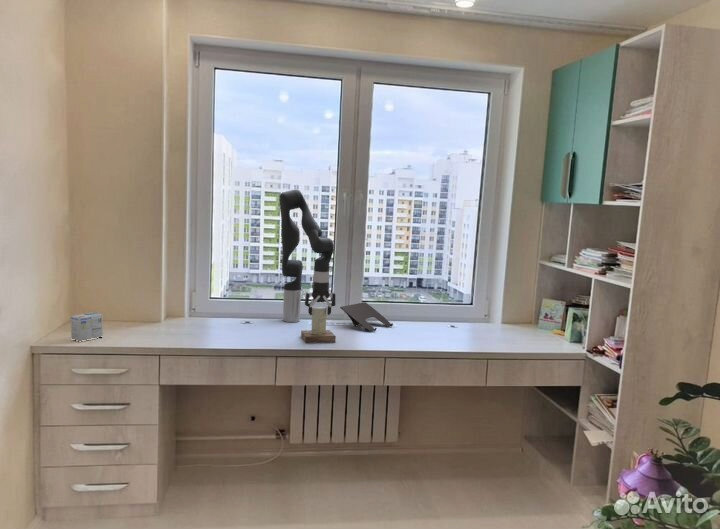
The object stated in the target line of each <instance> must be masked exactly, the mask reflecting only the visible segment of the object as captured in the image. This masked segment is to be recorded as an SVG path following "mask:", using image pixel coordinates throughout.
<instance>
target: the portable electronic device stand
mask: <svg viewBox="0 0 720 529" xmlns="http://www.w3.org/2000/svg"><path fill="white" fill-rule="evenodd" d="M339 309H341V310H342V311H343V312H344V313H345V314H346V315H347V317H349V318H350V320H351V322H352V324H353V326H354V327H357V326H356V325H358V326H359V324H360V325H361V326H362V327H363V328H364V331H367V332H369V331H370V332H372V331H373V332H372V333H375V332H376V331H377V327H375V328H374V327H373V325H371V323H369V321H367V319H371V318H375V319H376V320H378V321H379V322H380V323H382V324H383V325H385V326H387V327H388V328H389V327H391V328H392V327H393V325H394V323H392V322H390V321H389V320H388V319H386V317H384V315H382V314H381V313H379V312H378V311H377V310H376V309H375V308H374V307H372V305H370V304H369V303H368V302H365V301H363V302H358V303H353V304H348V305H343V306H340V307H339Z"/></svg>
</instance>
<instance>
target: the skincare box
mask: <svg viewBox="0 0 720 529" xmlns="http://www.w3.org/2000/svg"><path fill="white" fill-rule="evenodd" d="M327 308H328V307H324V306H323V307H322V306H317V307H312V315H311V330H312V334H317V335H320V334H323V333H326V330H327Z"/></svg>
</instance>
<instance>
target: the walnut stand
mask: <svg viewBox="0 0 720 529" xmlns="http://www.w3.org/2000/svg"><path fill="white" fill-rule="evenodd" d="M300 337H301V339H302V340H303V342H304V343H305V344H325V343H336V341H337V340H336V338H337V337H336V335H335V334H334V333H333V332H332V331H331V330H330V329H326V333H323V334H320V335H317V334H312V329H311V330H308V329H306V330H305V329H304V330H300Z"/></svg>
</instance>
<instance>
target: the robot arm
mask: <svg viewBox="0 0 720 529" xmlns="http://www.w3.org/2000/svg"><path fill="white" fill-rule="evenodd" d="M278 198H279V200H278V201H279V208H280V209H279V210H280V219H281V248H282V249H281V251H282V259H281V273H282V275H283V277H286V278H287V277H288V278H295V279H294V280H292V281H290V282H286V283H284V284H283V302H282V303H283V304H282V305H283V306H282V321H283V322H286V323H297V322H300V321H301V303H302V302H301V301H302V300H301V298H302V276H303V262H302V260H301V259H300V260H299V259H289V258H290V257H291V255H292V254H293V252H294V251H295V249H296V248H297V247H298V245H299V244H300V241H301V240H300V238H301V237H300V235H301V232H300V231H301V230H300V228H299V226H298V225H297V224H296V222H295V221H294V220H293V219H292V218H291V214H290V213H291V212H290V211H291V210H295V209H300V210H301V220H300V221H301V227H302V229H303V231H304V233H305V234H306V236H307V237H308V241H309V245H310V248H311V250H312V251H313V252H314V253H315V254H321V255H320V257H317V258H315V259H314V264H313V268H314V269H313V276H312V277H313V278H312V292H311V293H310V292H306V293H305V297H304V305H305V306H306V307H308V310H307V311H308V315H310V316H312V309H313V306H314V305H315V304H316V303H325V304H326V305H327V307H326V308H327V311H326V315H327V316H330V315H331V314H332V308H333V307H335V306H336V293H335V292H331V293H330V263H331V260H332V256H333V252H334V249H335V245H334V241H333V240H332V239H331V238H329V237H322V235H323V230H322V229H321V227H320V225H318V223H317V221H316V219H315V218H314V216H313V214H312V212H311V210H310V208H309V205H308V203H307V201H306V199H305V197H304V195H303V192H301V191H300V189H297V188H295V189H291V190H287V191H283V192H281V193H280V194H279V197H278ZM311 297H312V299H311V301H310V298H311ZM329 297H330V298H331V302H330V301H329Z"/></svg>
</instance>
